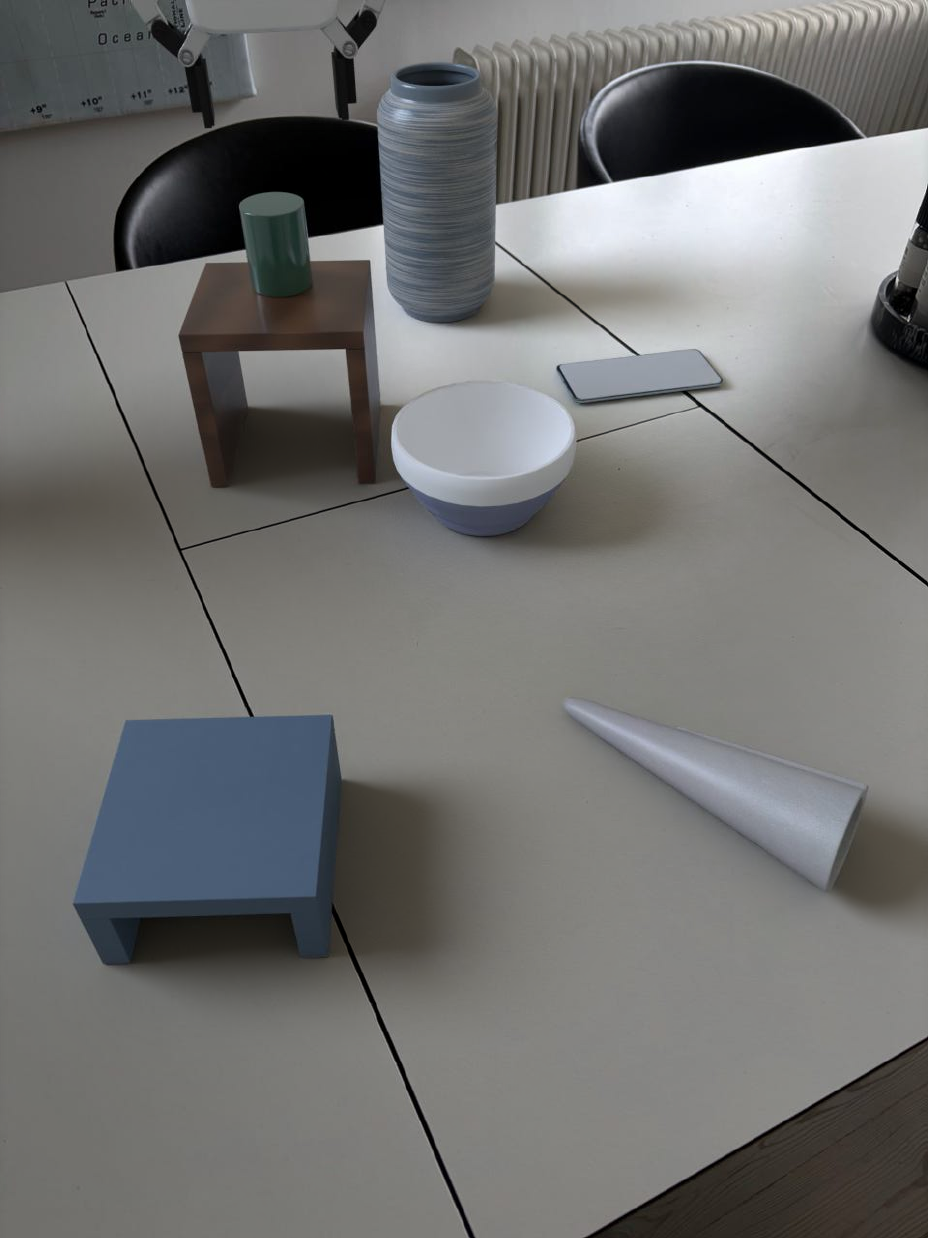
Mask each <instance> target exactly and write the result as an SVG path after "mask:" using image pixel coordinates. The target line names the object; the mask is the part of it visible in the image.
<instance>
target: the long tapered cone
mask: <svg viewBox="0 0 928 1238" xmlns="http://www.w3.org/2000/svg"><path fill="white" fill-rule="evenodd" d="M562 705H563V706H562V707H563V710H564V711H565V713H566V714H567V715H568V716H570V717H571V718H572V719H574V720H575V721H577V722H578V723H579V724H580V725H582V726H583V727H585V728H586V729H587V730H589V731H590V732H592V733H593V734H594V735H596V736H597V737H599V738H600V739H602V741H604V742H606V743H607V744H609V745H610V746H612V748H614V749H616V750H617V751H619V752H620V753H622V754H623V755H625V756H626V757H628V758H629V759H631V760H632V761H634V762H635V763H637V764H638V765H639V766H641V767H642V768H644V769H645V770H647V771H648V772H650V773H651V774H653V775H654V776H656V777H657V778H659V779H660V780H661V781H663V782H664V783H666V784H667V785H669V786H670V787H672V788H673V789H674V790H676V791H678V792H679V793H680V794H682V795H684V796H685V797H687V798H688V799H689V800H691V801H692V802H694V803H695V804H697V805H698V806H699V807H701V808H703V809H704V810H706V811H707V812H708V813H710V814H711V815H713V816H714V817H716V818H717V819H719V821H721V822H723V823H724V824H726V825H727V826H729V827H730V828H732V829H733V830H735V831H736V832H737V833H739V834H740V835H742V836H743V837H745V838H747V839H748V840H749V841H751V842H752V843H754V844H755V845H757V846H758V847H760V848H761V849H763V850H764V851H766V852H767V853H768V854H770V855H772V856H773V857H774V858H775V859H777V860H778V861H780V862H781V863H783V864H784V866H786V867H788V868H790V869H792V870H793V871H794V872H796V873H797V874H799V875H800V876H801V877H803V878H805V880H807V881H809V882H810V883H812V884H813V885H815V886H816V887H818V888H819V889H821V890H822V891H823V892H825V893H829V892H830V891H831V890H832V889H833V887H834V885H835V883H836V881H837V879H838V877H839V875H840V872H841V871H842V868H843V866H844V864H845V861H846V858H847V856H848V853H849V850H850V848H851V845H852V842H853V840H854V837H855V835H856V832H857V829H858V828H859V825H860V821H861V817H862V814H863V810H864V807H865V802H866V799H867V796H868V791H869V785H868V784H866V783H863V782H860V781H856V780H853V779H851V778H847V777H843V776H840V775H837V774H834V773H832V772H828V771H825V770H822V769H818V768H816V767H815V768H814V767H812V766H808V765H805V764H801V763H799V762H795V761H792V760H789V759H786V758H783V757H779V756H776V755H773V754H770V753H767V752H763V751H760V750H757V749H753V748H750V747H746V746H743V745H741V744H737V743H734V742H730V741H729V740H725V739H721V738H718V737H714V736H711V735H709V734H704V733H702V732H698V731H695V730H692V729H689V728H685V727H683V726H677V727H676V728H674V727H671V726H668V725H665V724H662V723H658V722H656V721H653V720H650V719H646V718H644V717H640V716H638V715H634V714H631V713H628V712H626V711H622V710H618V709H615V708H612V707H609V706H606V705H604V704H602V703H598V702H596V701H593V700H590V699H589V700H588V699H585V698H580V697H579V698H578V697H573V696H572V697H571V696H569V697H567V698H566V699H564V701H563V704H562Z"/></svg>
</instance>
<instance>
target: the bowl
mask: <svg viewBox="0 0 928 1238" xmlns="http://www.w3.org/2000/svg"><path fill="white" fill-rule="evenodd" d="M572 416H573V415H571V413H570V411H569V410H568V409H567V408H566V407H565V406H564V405H563V404H561V402H560V401H558V400H556V399H555V398H553V397H551V396H550V395H548V394H547V393H545V392H543V391H540V390H539V389H538V390H537V389H535V388H532V387H529V386H526V385H523V384H518V383H512V382H508V381H507V382H506V381H497V380H496V381H495V380H468V381H461V382H455V383H449V384H445V385H442V386H438V387H435V388H433V389H430V390H427V391H425V392H422V393H421V394H419V395H417V396H416V397H414V398H412V399H411V400H410V401H408V402H407V403H406V404H405V405H404V406H402V408H400V410H399V412H397V414H396V415H395V417H394V420H393V422H392V425H391V437H390V439H391V440H390V441H391V446H390V447H391V454H392V460H393V463H394V466H395V468H396V471H397V472H398V474H399V475H400V477H401V479H402V480H403V482H404V483H405V485H406V486H407V488H408V489H409V490H410V491H411V492H412V494H414V497H415V498H416V499H417V501H418V502H419V503H420V505H422V506H423V507H424V508H425V509H426V510H428V511H429V512H430V513H431V514H432V515H433V516H434V518H435V519H436V521H438V522H439V523H440V524H442V526H443V527H446V528H448V529H450V530H452V531H454V532H457V533H460V534H463V535H468V536H475V537H477V536H478V537H488V536H489V537H491V536H492V537H493V536H497V535H499V536H500V535H503V534H507V533H510V532H513V531H515V530H518V529H519V528H521V527H522V526H524V525H526V524H527V523H528V522H529V521H530V520H531V518H533V516H534V515H535V514H536V513H537V512H538V511H540V510H541V509H543V507H545V506H546V504H547V503H548V502H549V501H550V500H551V499H552V496H553V495H554V494H555V493H556V491H558V489H559V488H560V487H561V486H562V484H563V483H564V481H565V479H566V477H567V476H568V475H569V473H570V471H571V469H572V467H573V465H574V461H575V456H576V450H577V441H578V439H577V428H576V424H575V420H574V418H573V417H572Z"/></svg>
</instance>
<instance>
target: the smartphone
mask: <svg viewBox="0 0 928 1238" xmlns="http://www.w3.org/2000/svg"><path fill="white" fill-rule="evenodd" d="M555 370H556V373H557V374H558V376H559V377H560V380H561V382H562V384H563V385H564V386H565V388H566V390H567V392H568V393H569V395H570V397H571V399H572V400H573V401H574V402H575V403H577V404H585V403H594V402H602V401H611V400H618V399H626V398H635V397H642V396H651V395H658V394H659V395H660V394H667V393H676V392H683V391H691V390H698V389H709V388H716V387H720V386H722V385H723V383H724V379H723V378H722V376H721V375H720V374H719V372H717V370H716V368H714V366H713V365H712V364H711V362H710V361H708V359H707V357H705V355H704V354H703V353H702V352H701V351H700V350H699V349H697V348H689V349H681V350H672V351H671V350H670V351H664V352H655V353H646V354H638V355H627V356H620V357H611V358H603V359H596V360H585V361H579V362H578V361H577V362H569V363H560V364H558V365H556V367H555Z"/></svg>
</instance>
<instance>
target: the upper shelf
mask: <svg viewBox="0 0 928 1238" xmlns="http://www.w3.org/2000/svg"><path fill="white" fill-rule="evenodd" d="M371 264H372V263H371V259H355V260H354V259H352V260H350V259H348V260H347V259H346V260H311V267H312V276H313V284H312V286H311V287H310V288H309V289H308V290H306V291H305V292H303V293H300V294H297V295H293V296H288V297H268V296H263V295H260V294H258V293H256V292H255V291H254V290H253V289H252V286H251V280H250V274H249V267H248V261H247V262H246V261H245V262H244V261H241V262H239V261H238V262H205V263H204V266H203V269H202V271H201V274H200V277H199V279H198V282H197V285H196V288H195V290H194V292H193V296H192V298H191V301H190V303H189V306H188V309H187V311H186V314H185V316H184V319H183V322H182V325H181V326H180V330H179V332H178V336H177V337H178V340H179V346H180V350H181V355H182V359H183V364H184V369H185V373H186V378H187V382H188V387H189V391H190V396H191V401H192V406H193V410H194V415H195V419H196V424H197V428H198V433H199V438H200V443H201V448H202V452H203V456H204V462H205V465H206V470H207V475H208V479H209V480H208V481H209V482H210V487H211V488H224V487H225V488H226V487H227V488H228V487H229V485H230V481H231V478H232V473H233V468H234V465H235V461H236V457H237V453H238V448H239V444H240V441H241V436H242V432H243V429H244V425H245V420H246V416H247V412H248V409H249V405H248V398H247V394H246V393H247V392H246V387H245V381H244V376H243V370H242V365H241V359H240V352H279V351H280V352H281V351H285V352H286V351H329V350H331V351H333V350H334V351H335V350H345V359H346V369H347V378H348V379H347V380H348V391H349V400H350V411H351V421H352V422H351V423H352V431H353V444H354V451H355V452H354V454H355V463H356V475H357V483H358V484H359V485H360V484H361V485H363V484H366V485H367V484H376V483H377V468H378V452H379V439H380V438H379V437H380V436H379V435H380V433H379V432H380V419H381V405H382V404H381V391H380V390H381V389H380V377H379V362H378V350H377V349H378V348H377V347H378V346H377V334H376V324H375V323H376V322H375V321H376V319H375V307H374V293H373V281H372V280H373V279H372V267H371V266H372V265H371Z"/></svg>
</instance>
